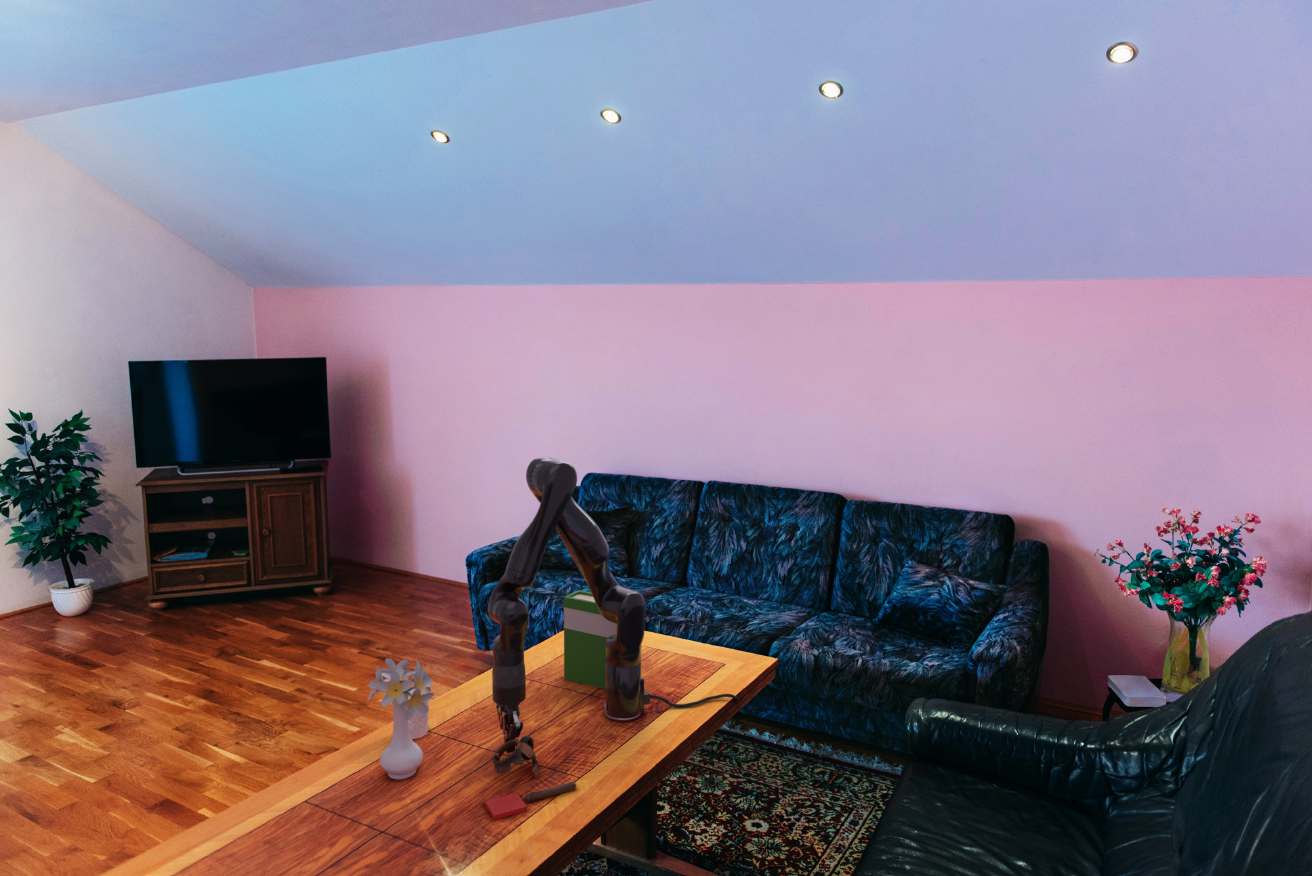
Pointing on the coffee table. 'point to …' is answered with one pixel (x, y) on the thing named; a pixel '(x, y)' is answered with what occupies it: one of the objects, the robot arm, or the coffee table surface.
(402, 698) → the flower vase
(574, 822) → the coffee table surface
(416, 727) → the white cup
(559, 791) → the spatula
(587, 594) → the hardback book
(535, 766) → the dark brown curved piece
